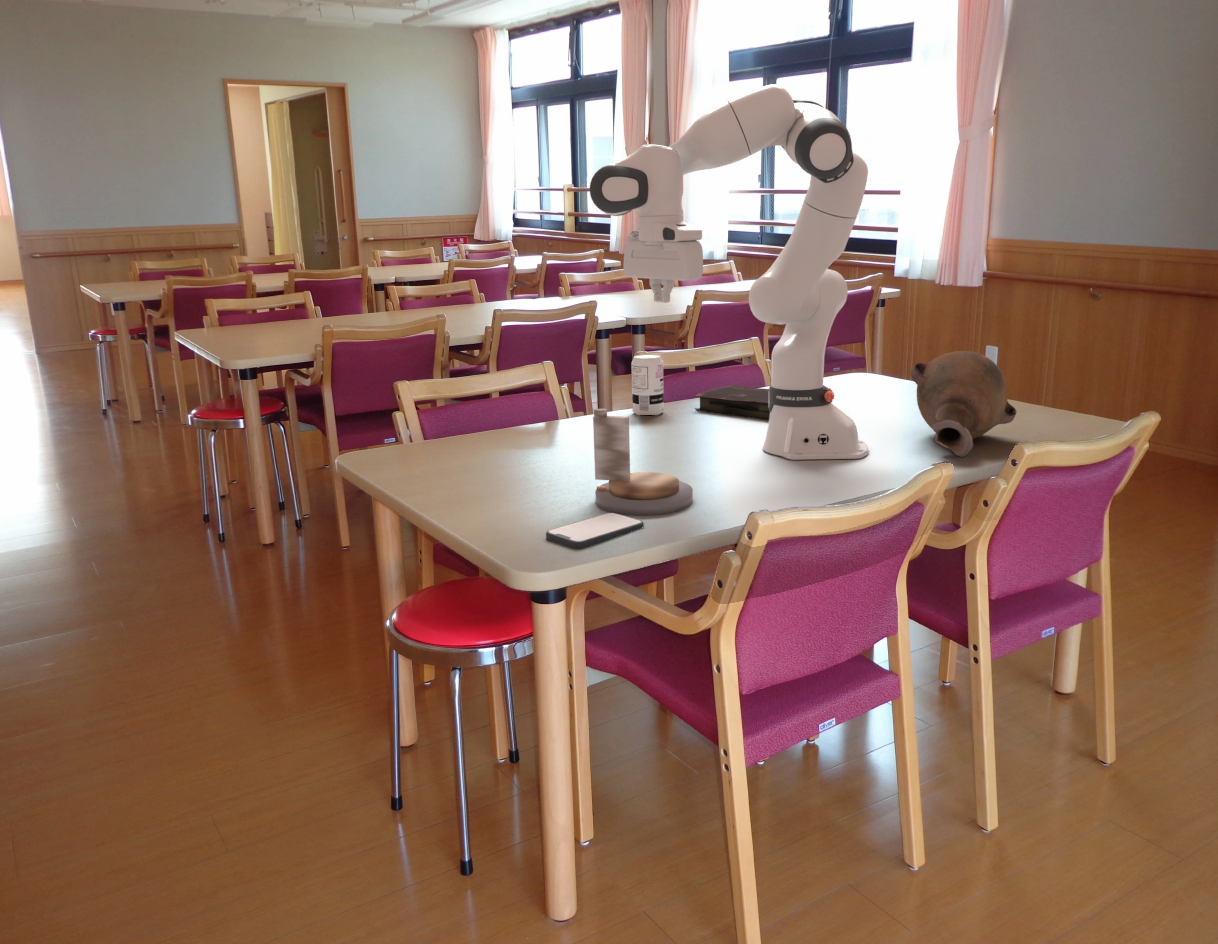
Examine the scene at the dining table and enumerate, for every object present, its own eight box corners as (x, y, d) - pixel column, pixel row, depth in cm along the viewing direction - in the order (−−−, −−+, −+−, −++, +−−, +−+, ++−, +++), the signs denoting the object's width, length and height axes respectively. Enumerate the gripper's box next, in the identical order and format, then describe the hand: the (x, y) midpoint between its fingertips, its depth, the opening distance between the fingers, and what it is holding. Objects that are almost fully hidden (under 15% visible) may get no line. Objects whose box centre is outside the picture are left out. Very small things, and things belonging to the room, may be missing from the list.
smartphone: (611, 519, 176) (542, 540, 165) (610, 511, 175) (542, 531, 164) (647, 530, 169) (578, 552, 159) (647, 521, 169) (578, 543, 158)
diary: (731, 401, 274) (732, 383, 273) (812, 411, 259) (813, 392, 258) (693, 412, 261) (692, 394, 259) (775, 424, 245) (776, 404, 244)
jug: (933, 424, 237) (907, 476, 213) (917, 347, 231) (888, 391, 207) (1023, 414, 227) (1006, 467, 203) (1009, 333, 221) (990, 377, 197)
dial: (686, 481, 187) (685, 405, 183) (669, 501, 175) (668, 420, 172) (606, 477, 192) (604, 402, 188) (585, 496, 180) (582, 417, 176)
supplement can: (630, 410, 263) (629, 354, 259) (661, 409, 264) (660, 353, 260) (634, 417, 255) (632, 359, 251) (665, 415, 256) (665, 358, 252)
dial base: (699, 489, 190) (699, 476, 190) (684, 517, 173) (684, 504, 173) (608, 485, 194) (607, 473, 194) (584, 513, 177) (584, 500, 177)
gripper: (615, 231, 200) (617, 300, 204) (684, 232, 185) (684, 306, 188) (639, 230, 204) (640, 297, 208) (708, 230, 188) (708, 303, 192)
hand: (662, 302), depth 198 cm, fingers closed
